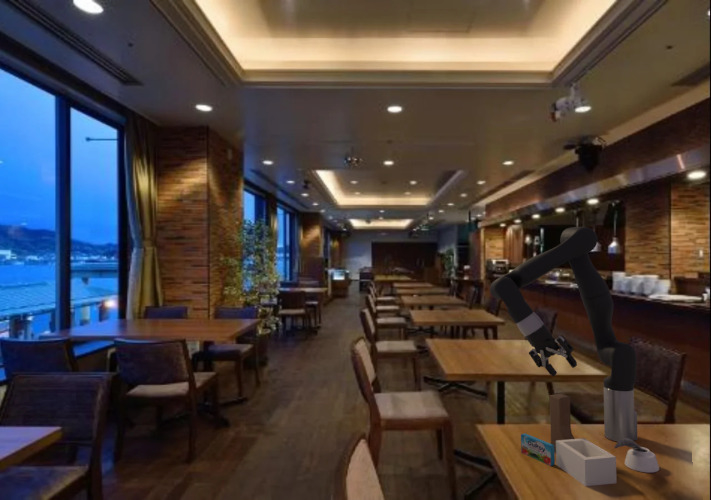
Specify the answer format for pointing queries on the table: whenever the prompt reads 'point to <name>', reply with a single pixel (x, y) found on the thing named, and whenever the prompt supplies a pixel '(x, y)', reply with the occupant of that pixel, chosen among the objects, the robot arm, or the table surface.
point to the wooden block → (560, 418)
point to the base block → (586, 462)
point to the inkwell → (639, 457)
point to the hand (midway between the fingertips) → (564, 370)
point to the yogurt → (538, 449)
